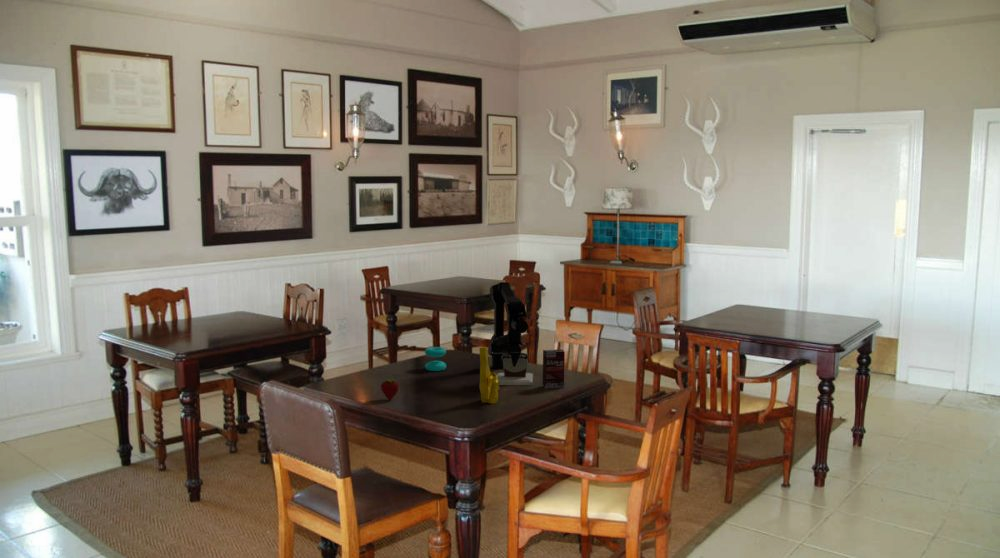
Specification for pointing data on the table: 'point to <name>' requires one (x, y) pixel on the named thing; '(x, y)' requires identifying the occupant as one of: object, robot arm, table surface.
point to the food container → (518, 369)
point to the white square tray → (515, 380)
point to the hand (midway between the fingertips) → (514, 364)
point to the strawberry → (390, 388)
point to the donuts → (435, 353)
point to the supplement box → (553, 368)
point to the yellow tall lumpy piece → (487, 379)
